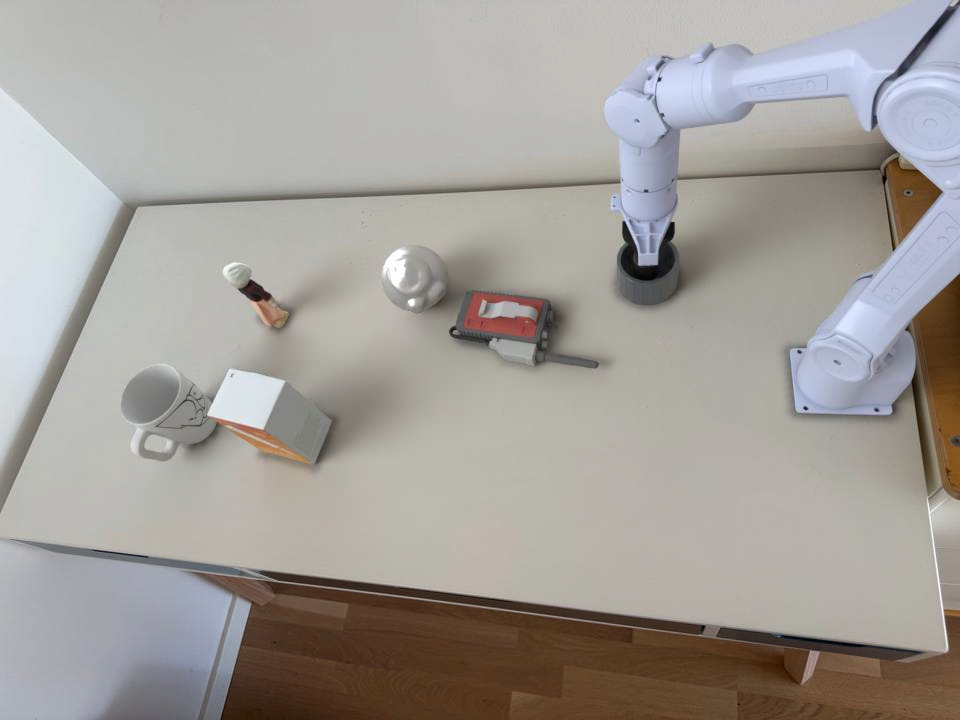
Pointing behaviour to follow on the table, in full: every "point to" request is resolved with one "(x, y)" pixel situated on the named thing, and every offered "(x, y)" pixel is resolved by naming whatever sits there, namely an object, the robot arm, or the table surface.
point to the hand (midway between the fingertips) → (647, 250)
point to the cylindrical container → (652, 289)
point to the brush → (646, 270)
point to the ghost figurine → (414, 278)
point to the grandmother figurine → (255, 294)
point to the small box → (270, 415)
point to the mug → (165, 410)
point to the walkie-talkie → (511, 327)
